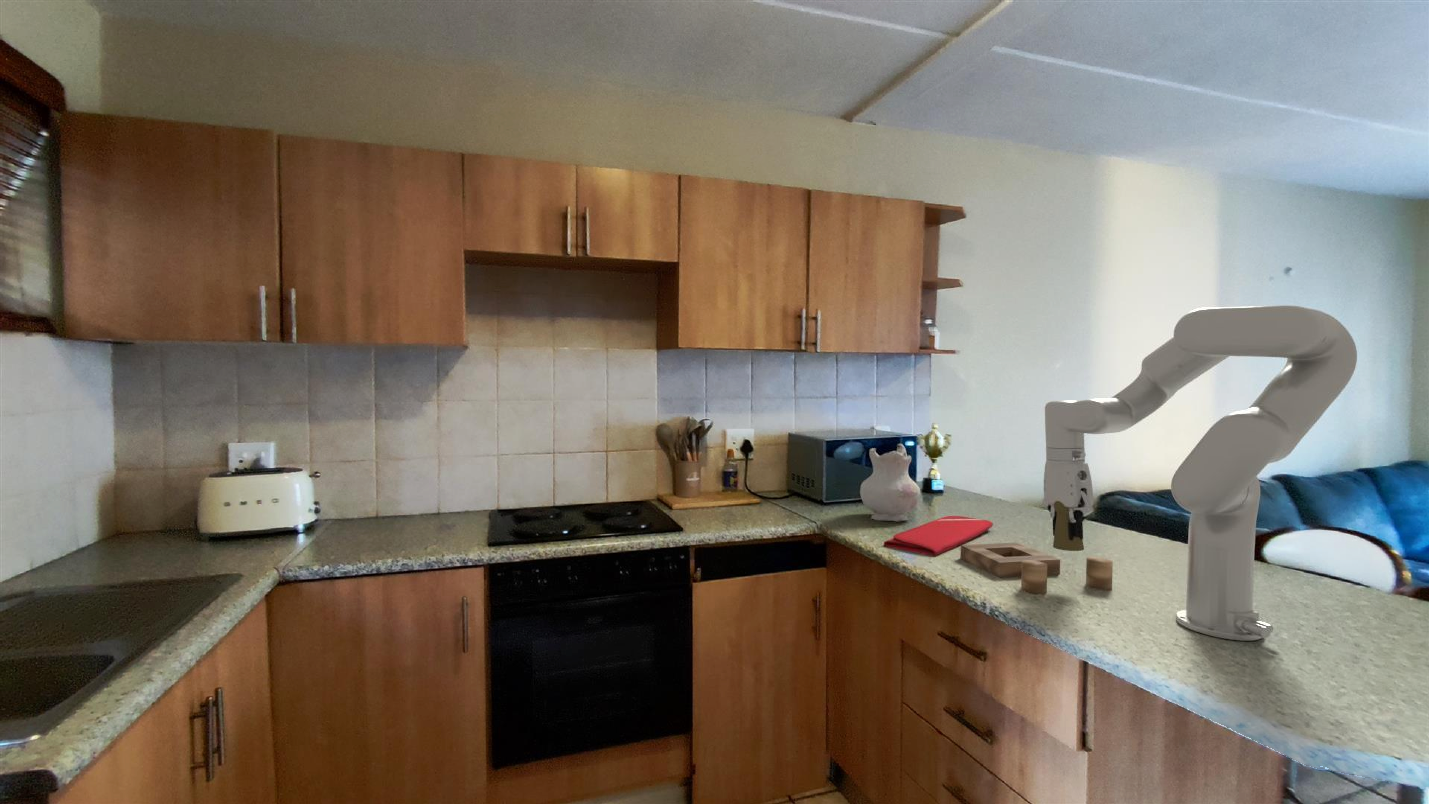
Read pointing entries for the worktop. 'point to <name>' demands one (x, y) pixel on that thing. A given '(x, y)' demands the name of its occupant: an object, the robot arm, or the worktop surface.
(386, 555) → the worktop surface
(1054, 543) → the cork
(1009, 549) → the socket block
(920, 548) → the red folded cloth
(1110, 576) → the short dowel
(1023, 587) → the short dowel
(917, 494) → the ceramic pitcher
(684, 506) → the worktop surface
